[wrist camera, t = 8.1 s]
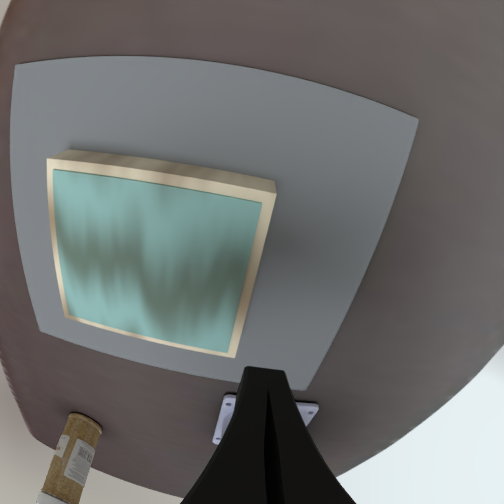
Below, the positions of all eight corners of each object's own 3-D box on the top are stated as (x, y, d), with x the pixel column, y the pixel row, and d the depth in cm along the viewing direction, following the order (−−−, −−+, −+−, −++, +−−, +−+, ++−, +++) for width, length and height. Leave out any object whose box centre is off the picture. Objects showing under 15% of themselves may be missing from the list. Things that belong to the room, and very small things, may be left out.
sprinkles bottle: (64, 407, 27) (27, 500, 16) (96, 417, 27) (63, 517, 16) (77, 426, 30) (48, 511, 18) (108, 435, 30) (81, 526, 18)
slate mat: (305, 386, 22) (305, 390, 22) (42, 327, 21) (40, 331, 20) (415, 118, 13) (419, 119, 12) (19, 64, 11) (15, 65, 11)
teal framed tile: (234, 360, 17) (64, 318, 16) (237, 334, 19) (78, 298, 18) (276, 195, 12) (45, 159, 12) (274, 180, 14) (68, 149, 14)
